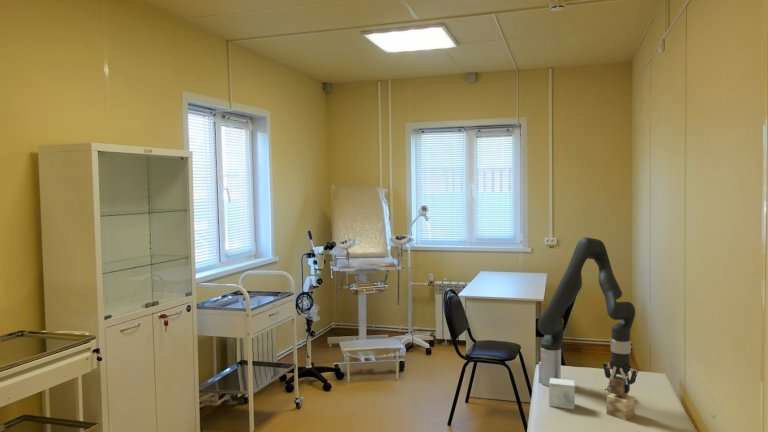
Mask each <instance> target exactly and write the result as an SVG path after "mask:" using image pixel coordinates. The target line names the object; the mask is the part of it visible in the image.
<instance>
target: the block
mask: <svg viewBox="0 0 768 432" xmlns="http://www.w3.org/2000/svg"><path fill="white" fill-rule="evenodd" d="M611 393H613V394H616V395H620V396H624V395H626V394H629V392H628V393H625V381H624V379H623V377H622V376H621V375H616V377H614V378H612V379H611Z"/></svg>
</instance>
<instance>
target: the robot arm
mask: <svg viewBox="0 0 768 432" xmlns="http://www.w3.org/2000/svg"><path fill="white" fill-rule="evenodd" d="M608 254H609V253H608V251H607V249H606V245H605V243H604V242H603V241H602V240H601V239H597V238H592V237H587V236H586V237H581V238H580V239H579V240H578V242H577V244H576V245H575V248H574V250H573V253H572V255H571V259H570V261H569V263H568V265H567V267H566V269H565V271H564V274H563V276H562V277H561V280H560V281H559V283H558V285H557V286H556V288H555V292H554V294H553V295H552V298H551V299H550V301H549V302H548V303H549V304H548V305H547V307H546V308H545V310H544V311H543V313H542V315H541V316H540V318H539V319H538V321H537V328H538V331H539V332H540V333H541V334H542V335H543V337H542V340H540V361H539V362H538V383H539V384H541V385H542V386H546V387H549V381H550V378H555V379H562V377H561V375H562V372H561V371H562V369H561V368H562V344H563V341H564V321H563V318H562V315H563V314H564V312H565V311H566V310H567V309H568V307H569V306H571V305H572V303H573V302H574V301H575V300H576V298H577V296H578V294H579V293H580V290H581V289H582V286H583V276H582V270H583V267H584V264H585V263H586V261H587V260H588V259H589V260H594V262H595V264H596V265H597V267H598V284H599V287H600V290H601V291H602V294H603V296H604V300H605V305H606V307H605V308H606V313H607V315H608V317H609V318H611V320H614V321H619V322H618V323H615V324H613V325H612V327H611V340H610V362H607V361H606V362H604V363H602V367H603V371H604V375H605V378H606V379H610V381H609V382H610V387H611V379H612V378H614V377H616V376H620V377H623V379H624V381H625V393H628V394H629V392H630V391H631V387H630V386H631V385H633V384H635V383H636V379H637V376H638V373H639V370H638V369H635V368H632V366H631V351H632V348H631V347H632V345H631V328H632V326H633V324H634V323H633V322H634V321H635V317H636V309H635V305H634V304H633V302H631V301H617V300H619V299H621V298H622V296H623V292H622V289H621V287H620V285H619V283H618V281H617V279H616V277H615V274H614V272H613V269H612V265H611V261H610V258H609V255H608ZM610 369H611V370H612V371H611V370H610ZM629 372H630V374H631V376H630V374H629Z"/></svg>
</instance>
